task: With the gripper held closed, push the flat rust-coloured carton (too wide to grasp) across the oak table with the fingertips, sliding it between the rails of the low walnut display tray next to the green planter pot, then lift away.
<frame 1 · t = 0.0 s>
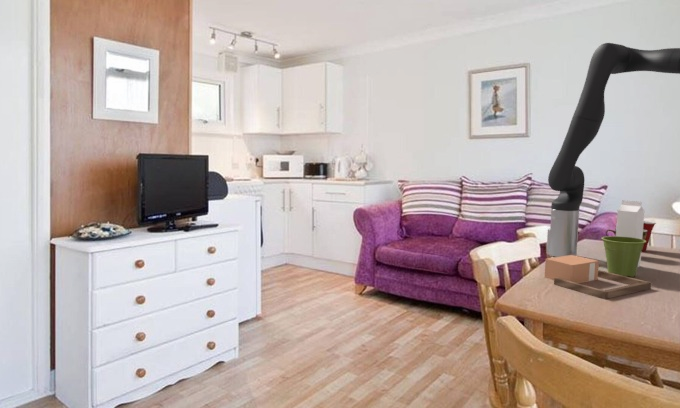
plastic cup: (637, 250, 179), on the table
plant pot: (620, 275, 142), on the table
ceramic cup: (624, 256, 169), on the table
carton: (570, 279, 138), on the table
display tray: (599, 285, 130), on the table
milk: (626, 266, 153), on the table
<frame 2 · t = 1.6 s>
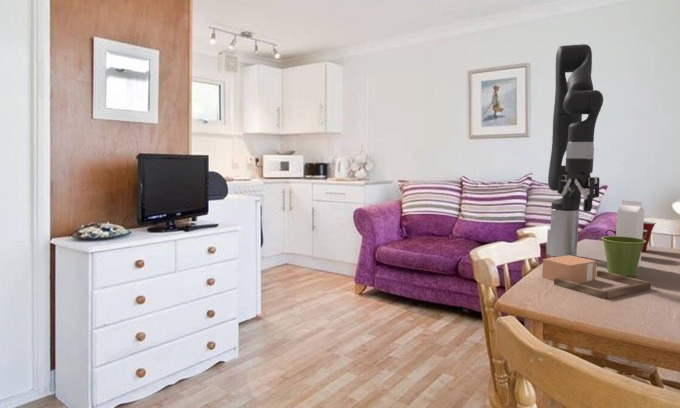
hand: (576, 209, 141), 20 cm above the table, tool pointing down, fingers open, 8 cm apart
nothing on the table moved.
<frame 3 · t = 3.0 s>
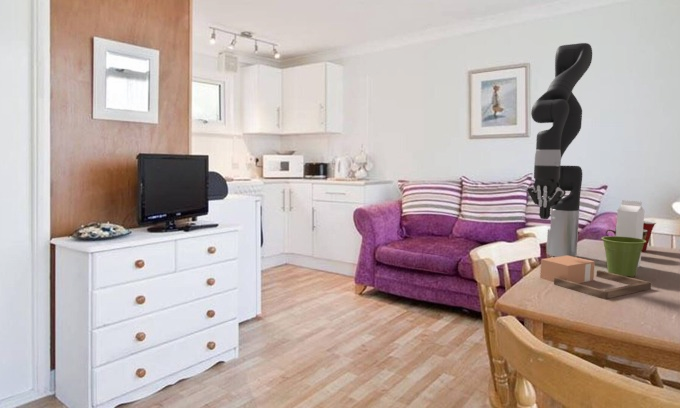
hand: (544, 218, 145), 17 cm above the table, tool pointing down, fingers closed
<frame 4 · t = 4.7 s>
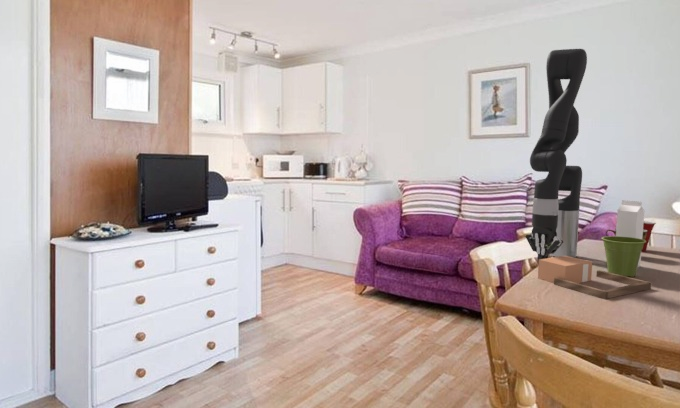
hand: (542, 265, 147), 2 cm above the table, tool pointing down, fingers closed
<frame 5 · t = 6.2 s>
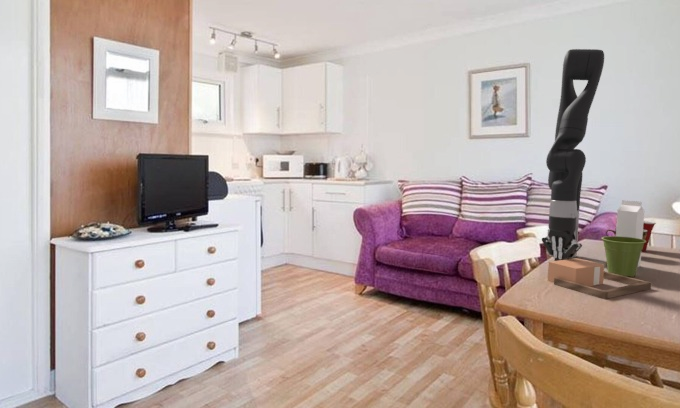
hand: (559, 270, 141), 2 cm above the table, tool pointing down, fingers closed
carton: (574, 283, 133), on the table, touching gripper
everything else where it was.
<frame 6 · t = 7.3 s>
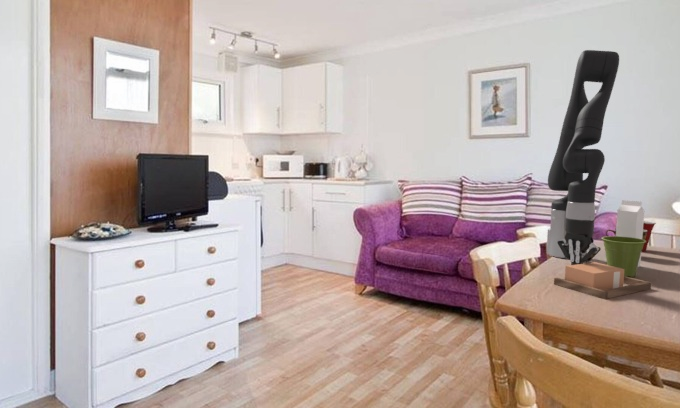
hand: (576, 274, 136), 2 cm above the table, tool pointing down, fingers closed
carton: (593, 288, 129), on the table
everything else where it was.
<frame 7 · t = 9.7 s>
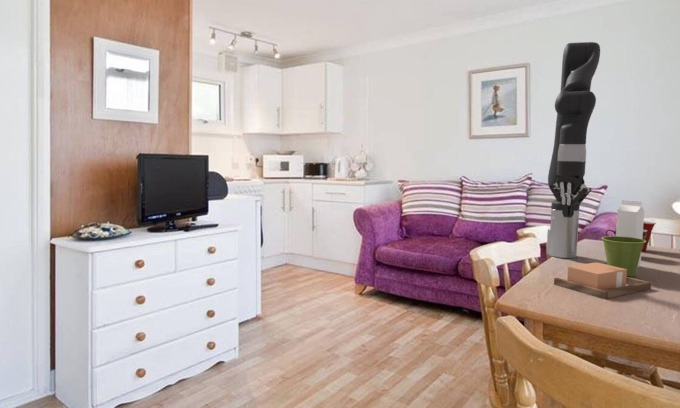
hand: (567, 217, 138), 18 cm above the table, tool pointing down, fingers closed
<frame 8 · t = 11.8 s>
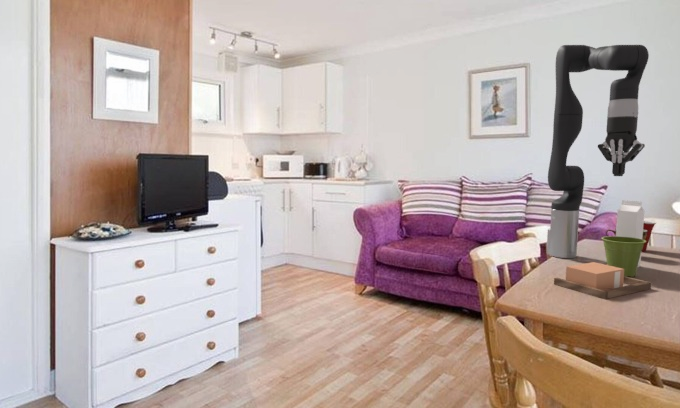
hand: (618, 176, 134), 31 cm above the table, tool pointing down, fingers closed
nothing on the table moved.
at the end: carton inside the target area (3.0 cm from its centre), on the table; carton tilted 0°; carton touching table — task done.
